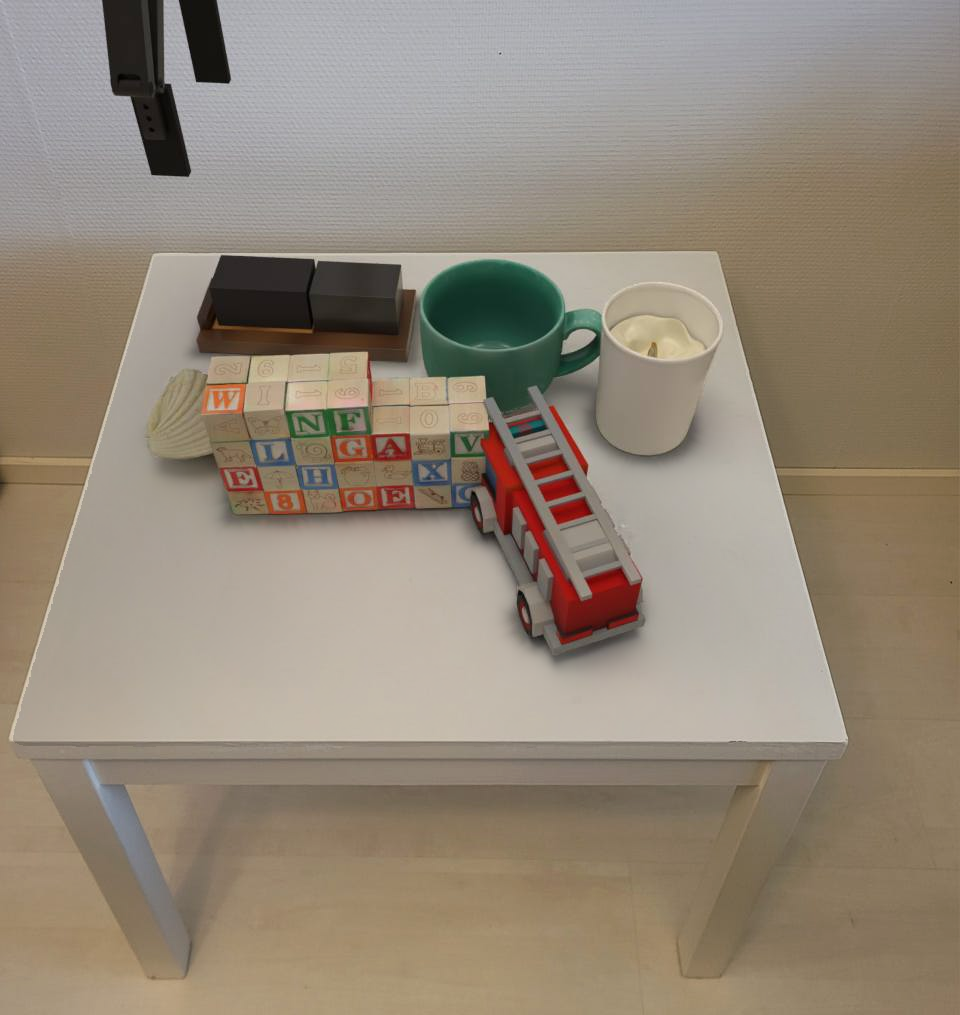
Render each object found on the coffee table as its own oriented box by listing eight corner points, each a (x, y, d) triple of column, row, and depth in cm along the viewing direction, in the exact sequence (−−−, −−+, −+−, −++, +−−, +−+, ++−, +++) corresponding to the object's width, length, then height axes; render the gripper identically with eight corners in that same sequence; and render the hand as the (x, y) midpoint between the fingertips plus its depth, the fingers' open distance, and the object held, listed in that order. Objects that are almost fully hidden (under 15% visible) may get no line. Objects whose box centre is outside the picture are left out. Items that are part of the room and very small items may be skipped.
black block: (218, 325, 92) (208, 287, 89) (229, 292, 95) (220, 254, 92) (311, 329, 92) (305, 292, 88) (320, 296, 95) (314, 258, 92)
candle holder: (647, 370, 91) (668, 266, 82) (719, 433, 86) (749, 330, 77) (565, 411, 88) (577, 308, 78) (635, 479, 83) (656, 377, 73)
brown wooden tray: (199, 352, 92) (185, 302, 88) (220, 292, 98) (208, 242, 93) (407, 362, 92) (403, 312, 87) (416, 301, 97) (414, 251, 93)
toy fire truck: (554, 462, 84) (562, 378, 76) (652, 637, 73) (673, 560, 65) (458, 489, 82) (456, 406, 74) (543, 673, 71) (552, 598, 63)
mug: (408, 420, 87) (403, 340, 79) (438, 330, 95) (436, 249, 87) (591, 446, 85) (603, 367, 78) (606, 352, 93) (618, 272, 85)
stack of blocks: (485, 452, 84) (487, 346, 75) (489, 508, 80) (491, 403, 71) (240, 460, 84) (209, 353, 74) (231, 516, 80) (198, 412, 70)
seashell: (123, 409, 84) (187, 344, 84) (197, 466, 89) (258, 406, 88) (126, 444, 77) (196, 375, 77) (206, 505, 82) (272, 440, 82)
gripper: (122, -136, 49) (205, 221, 66) (227, -265, 65) (272, 49, 82) (-23, -142, 49) (96, 216, 66) (117, -269, 65) (184, 45, 82)
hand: (193, 124), depth 74 cm, fingers open, 13 cm apart
